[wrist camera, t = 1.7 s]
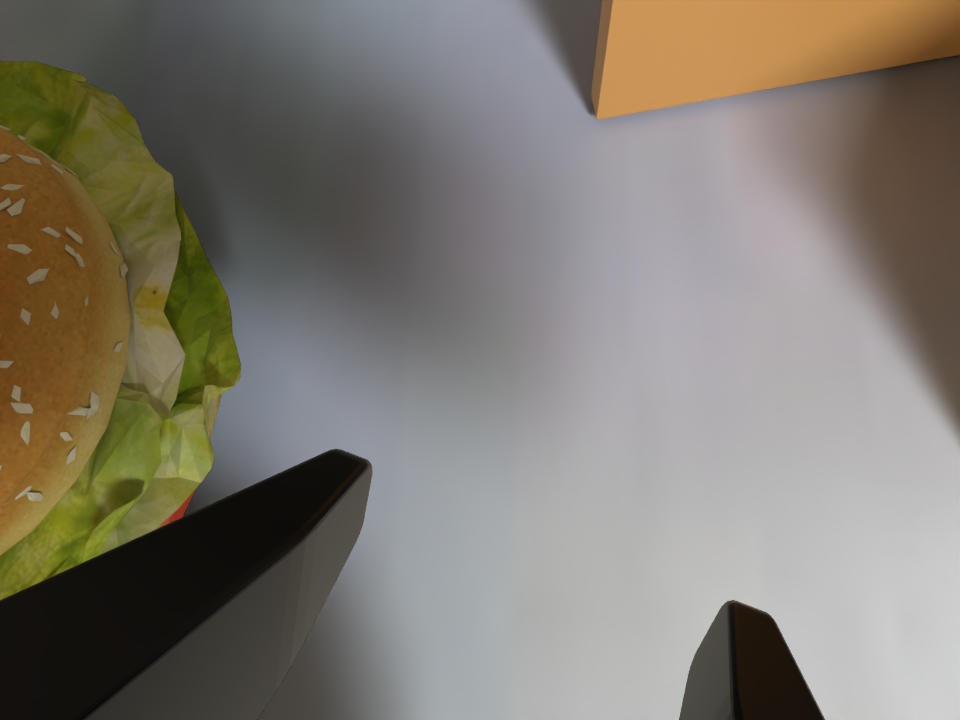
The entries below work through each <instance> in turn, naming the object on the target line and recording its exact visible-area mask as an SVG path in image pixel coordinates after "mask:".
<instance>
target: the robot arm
mask: <svg viewBox="0 0 960 720" xmlns="http://www.w3.org/2000/svg"><path fill="white" fill-rule="evenodd" d="M371 478H372V465H371V463H370V462H369V461H368V460H367V459H364V458H361V457H359V456H356V455H354V454H351V453H348V452H346V451H343V450H340V449H333V450H329V451H327V452H325V453H322V454H320V455H318V456H316V457H314V458H311V459H309V460H307V461H305V462H303V463H300V464H298V465H296V466H294V467H292V468H289V469H287V470H285V471H283V472H281V473H278V474H276V475H274V476H272V477H270V478H267V479H265V480H263V481H261V482H259V483H256V484H254V485H252V486H250V487H248V488H246V489H243V490H241V491H239V492H237V493H235V494H232V495H230V496H228V497H226V498H224V499H221V500H219V501H217V502H215V503H213V504H210V505H208V506H206V507H204V508H202V509H199V510H197V511H195V512H193V513H191V514H188V515H186V516H184V517H182V518H180V519H177V520H175V521H173V522H171V523H169V524H166V525H164V526H162V527H160V528H158V529H155V530H153V531H151V532H149V533H147V534H144V535H142V536H140V537H138V538H136V539H134V540H131V541H129V542H127V543H125V544H123V545H120V546H118V547H116V548H114V549H112V550H109V551H107V552H105V553H103V554H101V555H98V556H96V557H94V558H92V559H90V560H87V561H85V562H83V563H81V564H79V565H76V566H74V567H72V568H70V569H68V570H65V571H63V572H61V573H59V574H57V575H54V576H52V577H50V578H48V579H46V580H43V581H41V582H39V583H37V584H35V585H33V586H30V587H28V588H26V589H24V590H22V591H19V592H17V593H15V594H13V595H11V596H8V597H6V598H4V599H2V600H0V720H257V718H258V717H259V715H260V714H261V712H262V711H263V709H264V708H265V706H266V705H267V703H268V702H269V700H270V699H271V697H272V696H273V695H274V693H275V692H276V690H277V688H278V687H279V685H280V684H281V682H282V680H283V679H284V677H285V676H286V674H287V673H288V671H289V669H290V667H291V666H292V664H293V662H294V660H295V658H296V656H297V655H298V653H299V651H300V649H301V647H302V645H303V643H304V642H305V640H306V638H307V636H308V634H309V632H310V630H311V628H312V626H313V624H314V622H315V620H316V618H317V616H318V615H319V613H320V611H321V609H322V607H323V605H324V603H325V601H326V599H327V597H328V595H329V593H330V591H331V589H332V587H333V586H334V584H335V582H336V580H337V578H338V576H339V574H340V572H341V570H342V568H343V566H344V564H345V562H346V560H347V559H348V557H349V555H350V553H351V551H352V549H353V547H354V545H355V543H356V541H357V539H358V536H359V534H360V531H361V528H362V525H363V521H364V517H365V511H366V506H367V500H368V495H369V489H370V484H371ZM679 720H825V719H824V717H823V715H822V713H821V711H820V709H819V707H818V705H817V703H816V701H815V699H814V697H813V695H812V693H811V691H810V689H809V687H808V685H807V683H806V681H805V679H804V677H803V675H802V673H801V671H800V669H799V667H798V665H797V663H796V661H795V659H794V657H793V655H792V653H791V651H790V649H789V647H788V646H787V644H786V642H785V640H784V638H783V636H782V634H781V632H780V630H779V628H778V626H777V624H776V622H775V620H774V619H773V618H772V617H771V616H770V615H769V614H768V613H766V612H764V611H761V610H759V609H756V608H753V607H751V606H748V605H746V604H743V603H740V602H738V601H734V600H732V601H727V602H726V603H725V604H724V605H723V606H722V607H721V609H720V610H719V612H718V614H717V616H716V617H715V619H714V621H713V623H712V625H711V626H710V628H709V630H708V632H707V634H706V635H705V637H704V639H703V641H702V643H701V644H700V646H699V648H698V650H697V652H696V654H695V656H694V659H693V661H692V664H691V667H690V671H689V674H688V679H687V684H686V688H685V693H684V698H683V703H682V708H681V713H680V717H679Z"/></svg>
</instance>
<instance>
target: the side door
mask: <svg viewBox="0 0 960 720" xmlns="http://www.w3.org/2000/svg"><path fill="white" fill-rule="evenodd" d="M955 55H960V0H602V7H601V15H600V23H599V32H598V40H597V49H596V57H595V65H594V74H593V82H592V91H591V97H592V101H593V106H594V110H595V115H596V119H597V120H598V119H603V118H609V117H614V116H620V115H625V114H631V113H637V112H642V111H648V110H653V109H659V108H665V107H670V106H676V105H681V104H687V103H693V102H698V101H704V100H709V99H715V98H721V97H726V96H732V95H737V94H743V93H748V92H754V91H760V90H765V89H771V88H776V87H782V86H788V85H793V84H799V83H804V82H810V81H816V80H821V79H827V78H832V77H838V76H844V75H849V74H855V73H860V72H866V71H871V70H877V69H883V68H888V67H894V66H899V65H905V64H911V63H916V62H922V61H927V60H933V59H939V58H944V57H950V56H955Z"/></svg>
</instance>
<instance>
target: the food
mask: <svg viewBox="0 0 960 720" xmlns="http://www.w3.org/2000/svg"><path fill="white" fill-rule="evenodd" d="M240 371H241V363H240V359H239V356H238V352H237V348H236V345H235V341H234V337H233V333H232V319H231V310H230V305H229V300H228V296H227V294H226V292H225V290H224V288H223V286H222V284H221V282H220V280H219V278H218V277H217V275H216V273H215V272H214V270H213V268H212V266H211V265H210V263H209V261H208V259H207V257H206V255H205V253H204V250H203V248H202V246H201V244H200V241H199V239H198V237H197V235H196V233H195V231H194V229H193V227H192V225H191V223H190V221H189V219H188V217H187V215H186V213H185V211H184V208H183V206H182V204H181V202H180V200H179V198H178V196H177V194H176V193H175V194H174V184H173V175H172V174H170V173H169V172H168V171H166V170H165V169H164V168H163V167H161V166H160V165H159V164H158V163H156V162H155V160H154V159H153V157H152V156H151V154H150V152H149V151H148V149H147V148H146V146H145V144H144V141H143V138H142V136H141V133H140V130H139V127H138V125H137V122H136V119H135V118H134V117H133V116H132V115H131V113H130V112H129V111H128V110H127V109H126V107H125V106H124V105H123V104H122V103H121V102H120V100H119V99H118V98H117V97H116V96H114V95H112V94H110V93H108V92H106V91H104V90H102V89H100V88H98V87H95V86H93V85H91V84H89V83H86V78H85V77H83V76H81V75H80V74H76V73H73V72H69V71H65V70H62V69H59V68H56V67H52V66H49V65H46V64H42V63H39V62H4V61H0V600H2V599H4V598H6V597H8V596H11V595H13V594H15V593H17V592H19V591H22V590H24V589H26V588H28V587H30V586H33V585H35V584H37V583H39V582H41V581H43V580H46V579H48V578H50V577H52V576H54V575H57V574H59V573H61V572H63V571H65V570H68V569H70V568H72V567H74V566H76V565H79V564H81V563H83V562H85V561H87V560H90V559H92V558H94V557H96V556H98V555H101V554H103V553H105V552H107V551H109V550H112V549H114V548H116V547H118V546H120V545H123V544H125V543H127V542H129V541H131V540H134V539H136V538H138V537H140V536H142V535H144V534H147V533H149V532H151V531H153V530H155V529H158V528H160V527H162V526H164V525H166V524H169V523H171V522H173V521H175V520H177V519H180V518H182V516H183V514H184V512H185V510H186V508H187V506H188V504H189V502H190V500H191V498H192V496H193V494H194V492H195V490H196V488H197V487H198V486H199V484H200V483H201V482H202V481H203V479H204V478H205V477H206V475H207V474H208V472H209V471H210V470H211V468H212V464H213V460H214V455H213V451H212V447H211V443H210V439H209V438H210V435H211V431H212V428H213V424H214V421H215V417H216V414H217V410H218V407H219V402H220V398H221V394H222V393H224V392H225V391H227V390H229V389H230V388H232V387H234V386H235V384H236V383H237V381H238V380H239V378H240Z"/></svg>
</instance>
